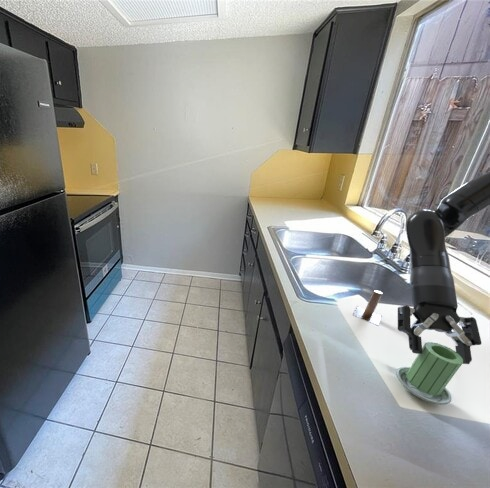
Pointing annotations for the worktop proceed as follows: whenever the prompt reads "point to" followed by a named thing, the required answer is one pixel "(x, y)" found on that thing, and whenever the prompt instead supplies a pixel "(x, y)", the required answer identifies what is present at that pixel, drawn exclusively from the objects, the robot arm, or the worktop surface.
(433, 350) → the hollow cylinder
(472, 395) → the worktop surface
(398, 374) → the saucer
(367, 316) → the stand
